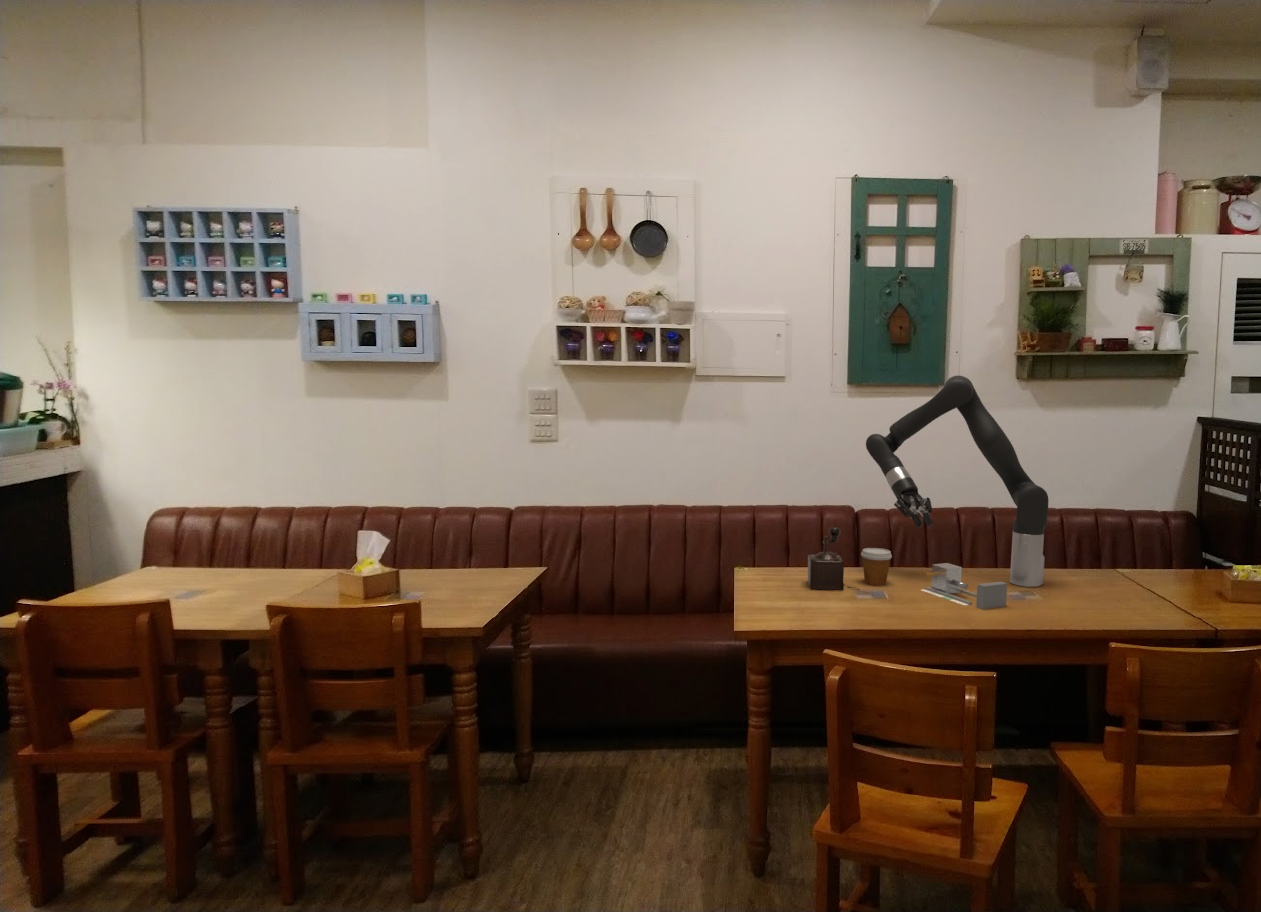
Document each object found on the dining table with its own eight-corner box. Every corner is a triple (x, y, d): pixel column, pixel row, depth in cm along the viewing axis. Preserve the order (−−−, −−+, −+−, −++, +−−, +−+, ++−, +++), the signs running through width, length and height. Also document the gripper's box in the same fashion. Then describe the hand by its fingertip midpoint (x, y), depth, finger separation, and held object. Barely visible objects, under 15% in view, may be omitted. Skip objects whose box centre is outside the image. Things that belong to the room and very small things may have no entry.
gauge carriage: (946, 587, 253) (947, 562, 252) (973, 596, 243) (974, 570, 242) (918, 591, 249) (919, 565, 248) (945, 600, 238) (946, 574, 238)
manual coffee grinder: (845, 591, 253) (848, 535, 252) (810, 590, 255) (812, 534, 253) (838, 578, 269) (840, 526, 267) (804, 577, 270) (806, 525, 268)
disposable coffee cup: (892, 592, 253) (893, 554, 252) (861, 590, 255) (862, 553, 253) (888, 584, 262) (890, 548, 261) (858, 582, 264) (860, 546, 263)
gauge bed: (950, 589, 256) (952, 564, 255) (1012, 610, 234) (1014, 582, 233) (916, 593, 251) (917, 568, 250) (976, 615, 229) (977, 587, 228)
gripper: (890, 477, 263) (914, 520, 253) (923, 475, 269) (949, 517, 259) (878, 491, 269) (902, 533, 259) (912, 489, 274) (936, 530, 264)
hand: (925, 525), depth 259 cm, fingers open, 3 cm apart
